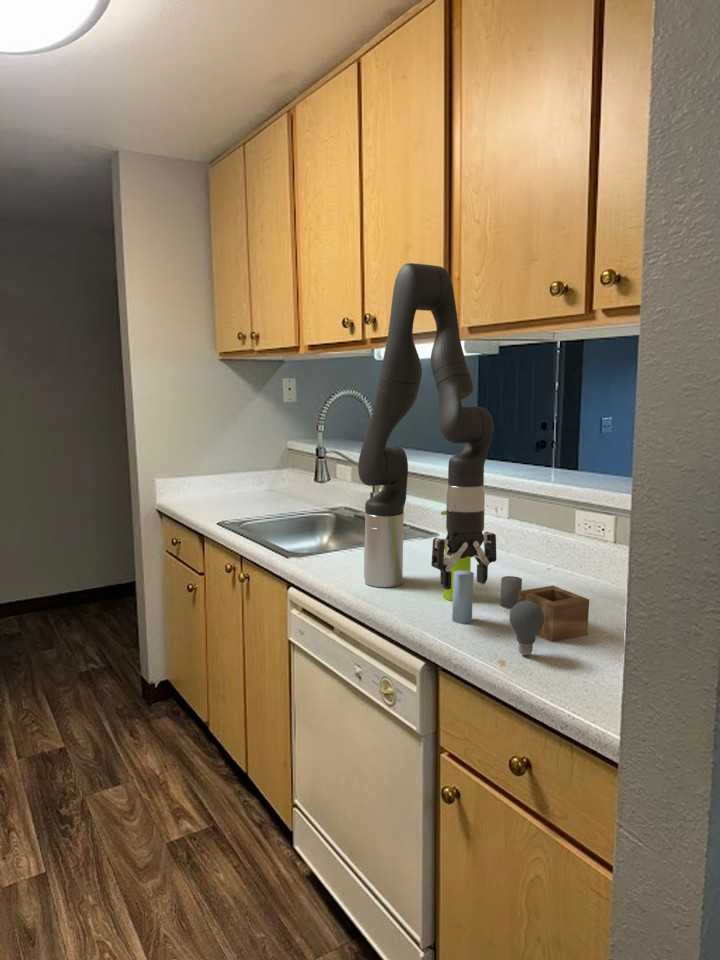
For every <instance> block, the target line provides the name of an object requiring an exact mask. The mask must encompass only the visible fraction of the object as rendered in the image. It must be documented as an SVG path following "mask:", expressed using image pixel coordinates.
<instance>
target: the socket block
mask: <svg viewBox="0 0 720 960" xmlns="http://www.w3.org/2000/svg"><path fill="white" fill-rule="evenodd" d="M521 601H531V602H534V603H536V604H537V605H538V606H539V607H540V608H541V609H542V611H543V614H544V624H543V627H542V628H541V629H540V631H539V632H538V634H537V635H536V636H539V637H541V638H543V639H545V640H546V641H550V642H552V643H553V642H557V641H563V640H567V639H571V638H576V637H580V636H586V635H588V629H589V628H588V627H589V612H590V611H589V610H590V599H589V598H586V597H583V596H582V595H578V594H577V593H575V592H572V591H568V590H566V589H564V588H561V587H558V586H557V585H547V586H542V587H535V588H529V589H523V590H522V591H518V602H521Z"/></svg>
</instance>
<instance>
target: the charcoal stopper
mask: <svg viewBox="0 0 720 960" xmlns="http://www.w3.org/2000/svg"><path fill="white" fill-rule="evenodd" d="M522 584H523V579H522V577H518V576H513V575H512V576H511V575H506V576H502V577H501V579H500V603H499V604H500V606H501V607H502V608H505V609H507V610H508V609H509V610H511V609H512V608H513V606H514V605H515V604H517V603H518V591H523V590H522V588H523V587H522V586H523V585H522Z"/></svg>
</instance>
